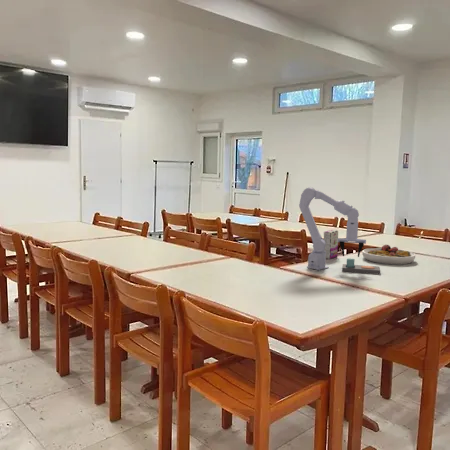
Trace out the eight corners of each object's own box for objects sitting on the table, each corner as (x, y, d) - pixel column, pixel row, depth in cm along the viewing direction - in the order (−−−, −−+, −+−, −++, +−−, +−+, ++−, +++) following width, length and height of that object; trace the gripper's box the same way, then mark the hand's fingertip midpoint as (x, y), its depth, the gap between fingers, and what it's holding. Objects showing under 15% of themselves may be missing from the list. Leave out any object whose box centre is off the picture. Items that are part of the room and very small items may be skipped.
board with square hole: (342, 271, 238) (342, 267, 238) (342, 267, 248) (342, 264, 247) (380, 274, 233) (380, 270, 233) (379, 270, 243) (379, 266, 242)
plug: (351, 271, 239) (351, 260, 238) (344, 269, 242) (345, 258, 241) (355, 270, 242) (356, 259, 241) (348, 269, 245) (349, 258, 244)
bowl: (419, 267, 254) (420, 253, 253) (364, 264, 260) (365, 250, 259) (409, 257, 283) (410, 245, 282) (359, 254, 289) (360, 242, 288)
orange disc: (370, 269, 234) (370, 269, 234) (358, 267, 239) (358, 266, 239) (377, 267, 239) (377, 267, 239) (365, 265, 244) (365, 265, 244)
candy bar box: (330, 255, 282) (331, 229, 280) (337, 256, 279) (338, 230, 277) (322, 258, 274) (323, 231, 272) (330, 259, 270) (331, 232, 269)
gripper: (337, 231, 237) (336, 256, 239) (366, 232, 233) (365, 258, 235) (338, 229, 244) (337, 254, 246) (366, 230, 240) (365, 256, 242)
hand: (350, 256), depth 241 cm, fingers open, 7 cm apart
